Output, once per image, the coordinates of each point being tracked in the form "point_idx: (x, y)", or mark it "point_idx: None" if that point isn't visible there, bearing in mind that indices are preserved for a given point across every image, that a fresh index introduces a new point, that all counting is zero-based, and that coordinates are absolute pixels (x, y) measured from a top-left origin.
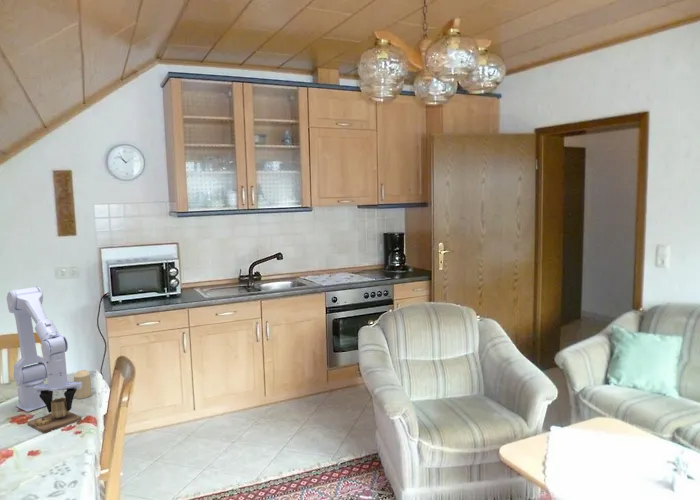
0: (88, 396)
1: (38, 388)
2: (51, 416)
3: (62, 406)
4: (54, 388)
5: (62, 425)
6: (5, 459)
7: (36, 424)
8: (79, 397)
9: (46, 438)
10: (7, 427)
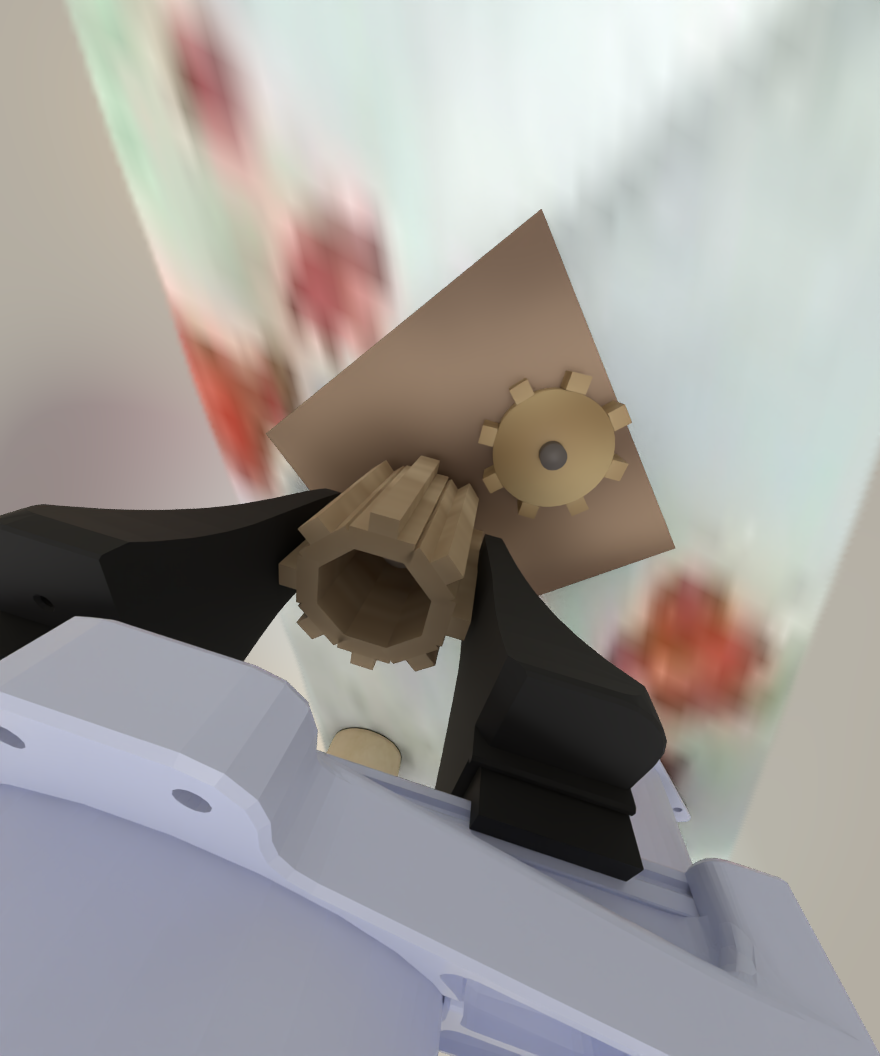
0: (340, 733)
1: (753, 1037)
2: None
3: (342, 494)
4: (50, 749)
5: (387, 340)
6: None
7: (614, 402)
8: (376, 741)
9: (510, 9)
10: (820, 563)
